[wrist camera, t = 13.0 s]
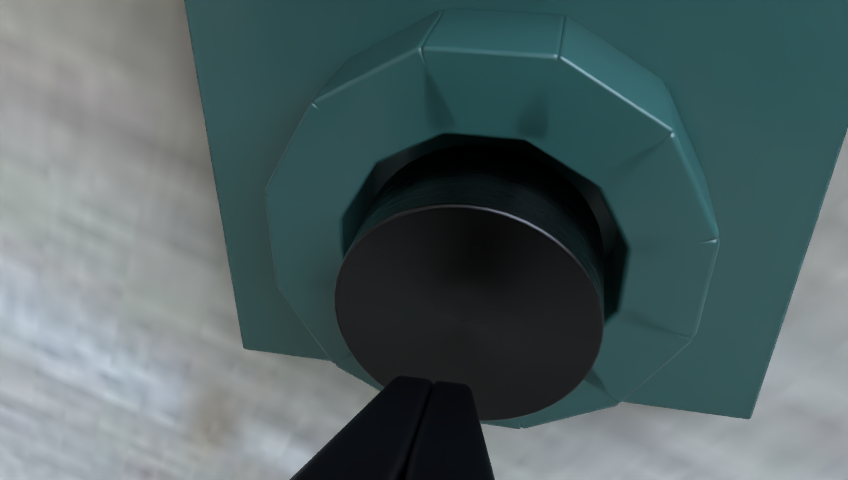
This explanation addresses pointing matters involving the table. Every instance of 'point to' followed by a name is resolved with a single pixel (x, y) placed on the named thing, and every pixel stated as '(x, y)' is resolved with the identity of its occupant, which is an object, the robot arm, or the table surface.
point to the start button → (477, 280)
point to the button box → (547, 142)
